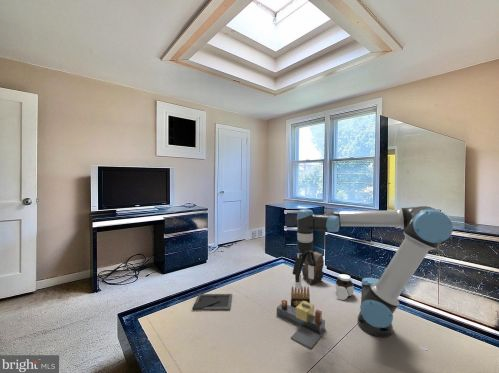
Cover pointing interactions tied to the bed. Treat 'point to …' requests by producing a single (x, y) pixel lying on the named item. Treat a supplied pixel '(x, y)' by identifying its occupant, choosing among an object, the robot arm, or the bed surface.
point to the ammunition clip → (299, 296)
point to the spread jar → (344, 287)
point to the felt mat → (306, 337)
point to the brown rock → (317, 269)
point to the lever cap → (304, 311)
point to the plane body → (289, 313)
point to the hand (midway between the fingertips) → (304, 283)
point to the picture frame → (213, 302)
